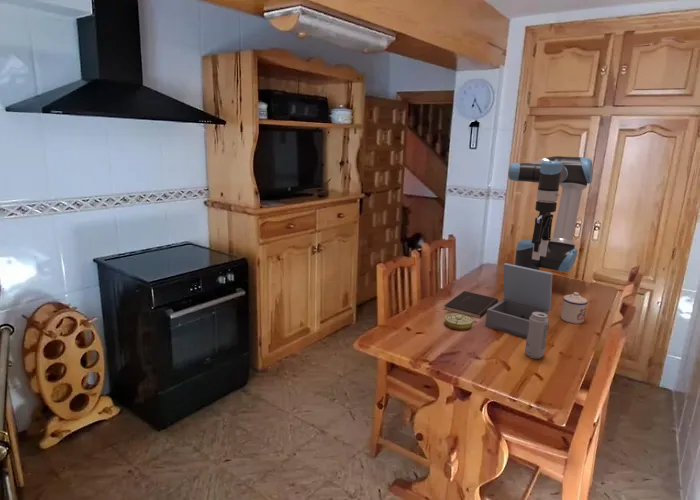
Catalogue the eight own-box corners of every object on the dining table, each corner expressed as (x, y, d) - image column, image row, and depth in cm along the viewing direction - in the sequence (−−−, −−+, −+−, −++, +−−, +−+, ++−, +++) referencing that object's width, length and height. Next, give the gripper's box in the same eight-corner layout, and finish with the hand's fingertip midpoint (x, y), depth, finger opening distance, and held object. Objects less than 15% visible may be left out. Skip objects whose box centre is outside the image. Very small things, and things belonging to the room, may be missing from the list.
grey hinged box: (502, 314, 189) (504, 299, 188) (546, 327, 178) (548, 310, 176) (485, 325, 178) (487, 309, 176) (531, 340, 166) (533, 322, 164)
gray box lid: (503, 298, 188) (505, 297, 188) (549, 310, 176) (550, 309, 177) (503, 264, 181) (505, 262, 181) (551, 274, 169) (552, 273, 170)
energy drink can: (526, 349, 159) (531, 309, 155) (544, 354, 156) (550, 313, 152) (523, 356, 154) (528, 315, 150) (542, 361, 151) (548, 319, 147)
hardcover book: (443, 310, 194) (444, 305, 193) (463, 295, 212) (464, 290, 211) (480, 319, 185) (480, 314, 184) (497, 303, 203) (498, 298, 203)
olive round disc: (461, 318, 184) (462, 310, 183) (477, 329, 175) (478, 320, 174) (439, 322, 181) (440, 313, 180) (454, 333, 171) (455, 323, 170)
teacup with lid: (580, 326, 180) (585, 298, 177) (556, 319, 186) (560, 292, 183) (589, 317, 188) (593, 291, 185) (566, 311, 194) (570, 285, 191)
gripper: (547, 204, 168) (539, 264, 173) (564, 199, 182) (556, 255, 188) (527, 202, 172) (520, 260, 178) (545, 197, 187) (538, 251, 193)
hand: (538, 257), depth 183 cm, fingers open, 7 cm apart
